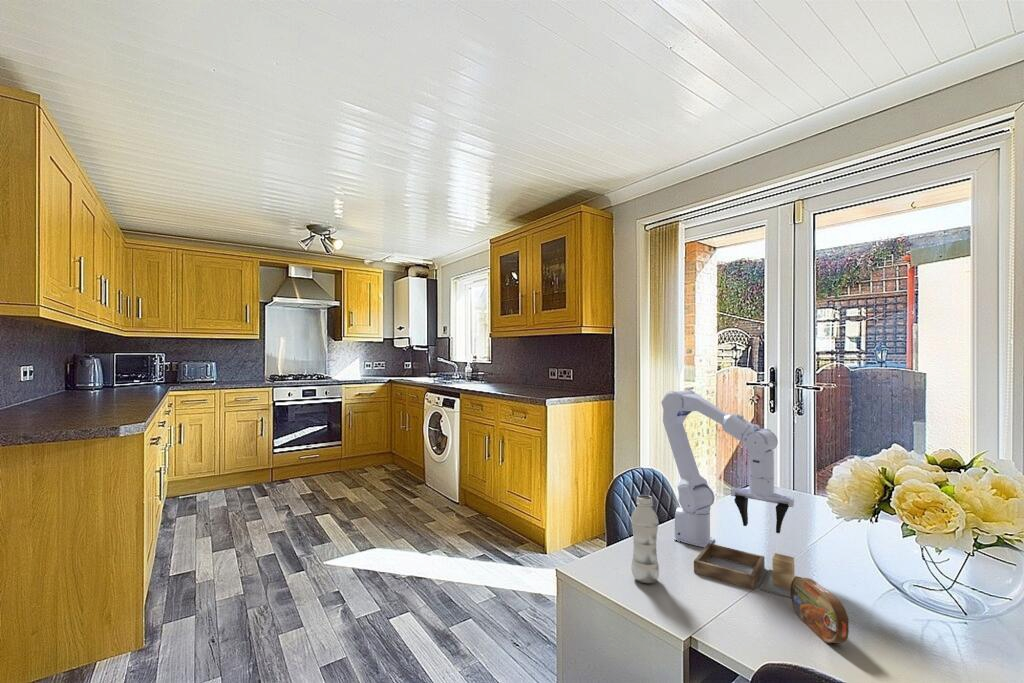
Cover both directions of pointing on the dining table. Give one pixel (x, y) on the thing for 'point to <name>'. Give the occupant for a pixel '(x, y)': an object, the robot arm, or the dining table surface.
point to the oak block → (783, 570)
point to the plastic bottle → (644, 541)
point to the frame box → (727, 573)
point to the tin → (819, 610)
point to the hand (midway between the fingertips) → (761, 528)
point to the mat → (774, 586)
